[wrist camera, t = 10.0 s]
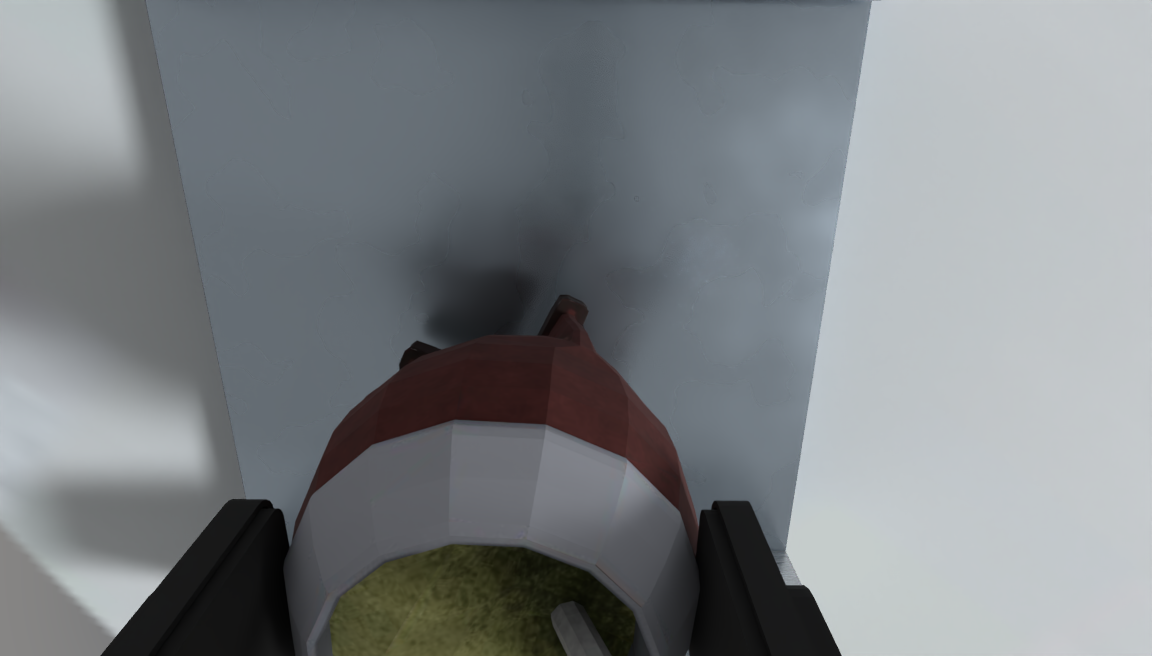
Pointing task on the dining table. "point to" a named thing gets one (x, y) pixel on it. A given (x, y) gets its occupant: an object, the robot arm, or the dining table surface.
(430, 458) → the mate gourd
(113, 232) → the dining table surface
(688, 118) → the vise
